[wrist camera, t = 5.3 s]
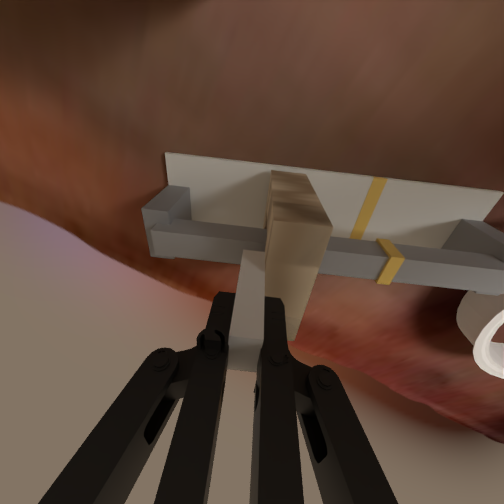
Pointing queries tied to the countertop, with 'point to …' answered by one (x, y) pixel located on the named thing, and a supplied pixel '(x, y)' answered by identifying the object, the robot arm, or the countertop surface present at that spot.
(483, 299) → the pot
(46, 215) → the countertop surface
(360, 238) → the rail
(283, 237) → the tan flat block
